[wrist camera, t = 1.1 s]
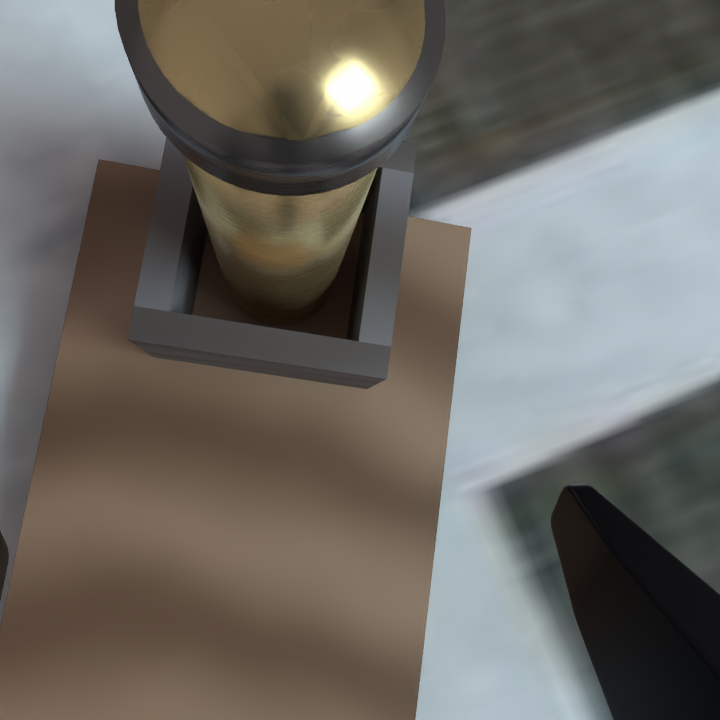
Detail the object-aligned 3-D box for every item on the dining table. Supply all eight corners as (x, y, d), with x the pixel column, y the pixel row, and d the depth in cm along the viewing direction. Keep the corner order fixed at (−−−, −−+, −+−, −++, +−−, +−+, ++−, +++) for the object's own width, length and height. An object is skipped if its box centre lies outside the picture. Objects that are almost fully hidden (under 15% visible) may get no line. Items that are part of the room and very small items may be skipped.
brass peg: (332, 342, 22) (425, 189, 8) (205, 322, 22) (83, 124, 8) (349, 223, 23) (461, -99, 9) (226, 201, 22) (148, -177, 9)
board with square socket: (398, 762, 22) (438, 867, 17) (-5, 731, 20) (-105, 836, 15) (461, 222, 25) (513, 163, 20) (113, 157, 23) (65, 73, 18)
